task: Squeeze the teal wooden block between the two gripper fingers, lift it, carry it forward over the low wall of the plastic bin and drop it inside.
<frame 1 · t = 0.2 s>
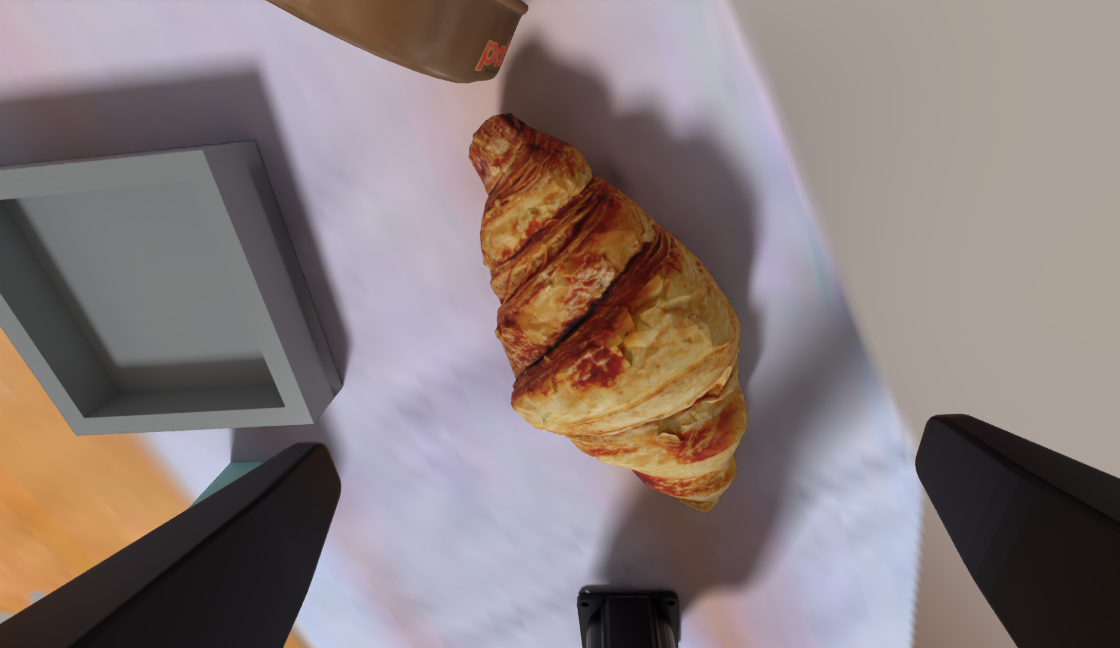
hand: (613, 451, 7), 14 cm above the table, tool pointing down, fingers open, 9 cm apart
bin: (182, 287, 23), on the table
block: (281, 489, 29), on the table
croissant: (614, 327, 23), on the table
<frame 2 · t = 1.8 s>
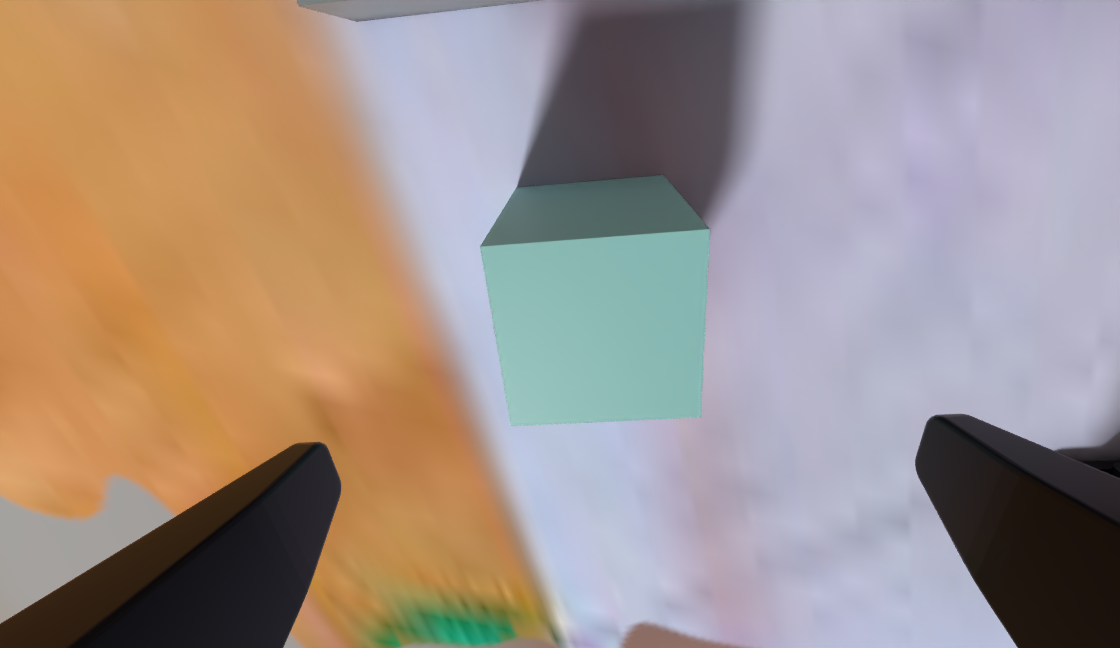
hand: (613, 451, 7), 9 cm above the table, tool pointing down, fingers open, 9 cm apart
block: (593, 251, 16), on the table
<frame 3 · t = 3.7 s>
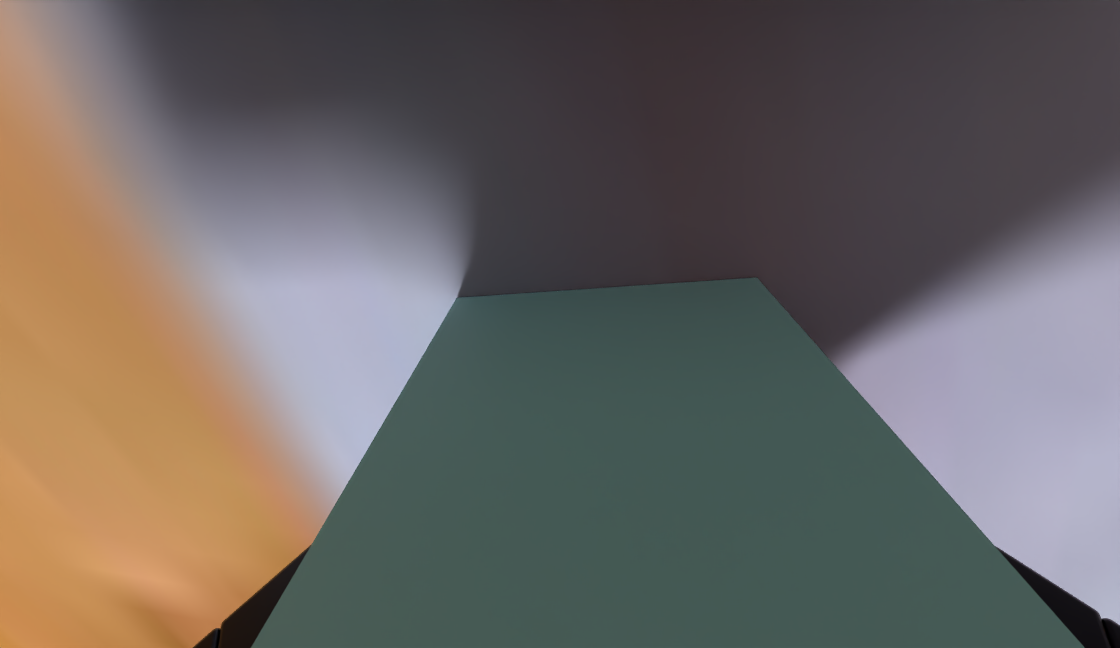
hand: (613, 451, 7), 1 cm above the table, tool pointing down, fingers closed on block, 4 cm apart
block: (609, 409, 8), on the table, touching gripper
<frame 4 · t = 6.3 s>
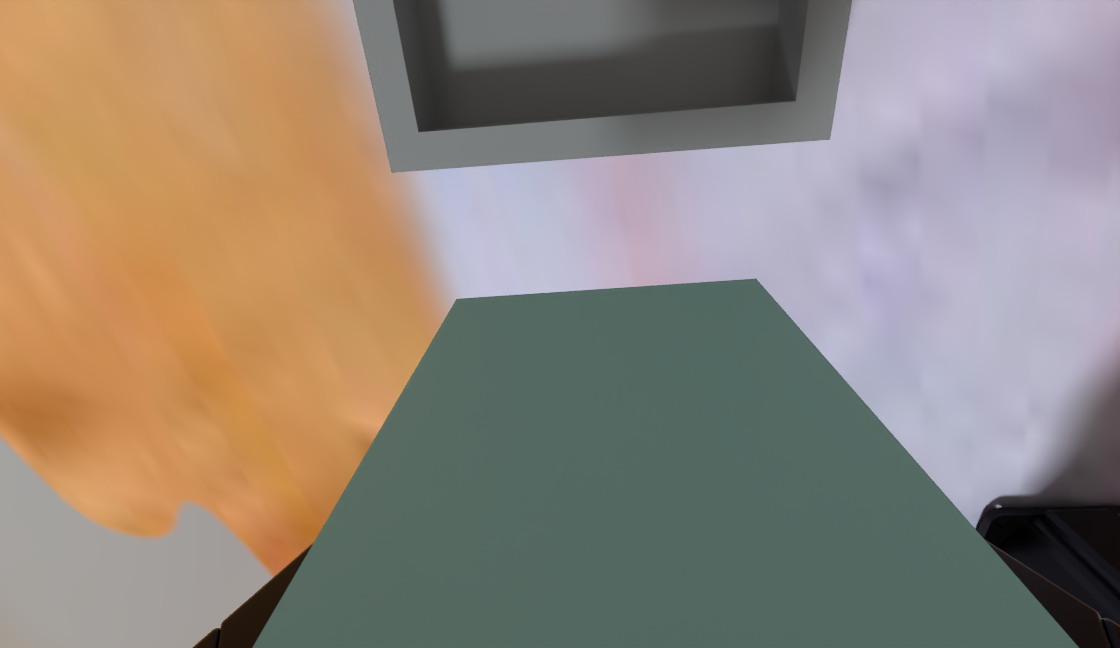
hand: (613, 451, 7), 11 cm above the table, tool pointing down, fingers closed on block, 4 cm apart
block: (609, 410, 8), point 10 cm above the table, touching gripper
when the fingers open (4 cm above the table, at t = 9.2 s): block drops 2 cm, resting on bin.
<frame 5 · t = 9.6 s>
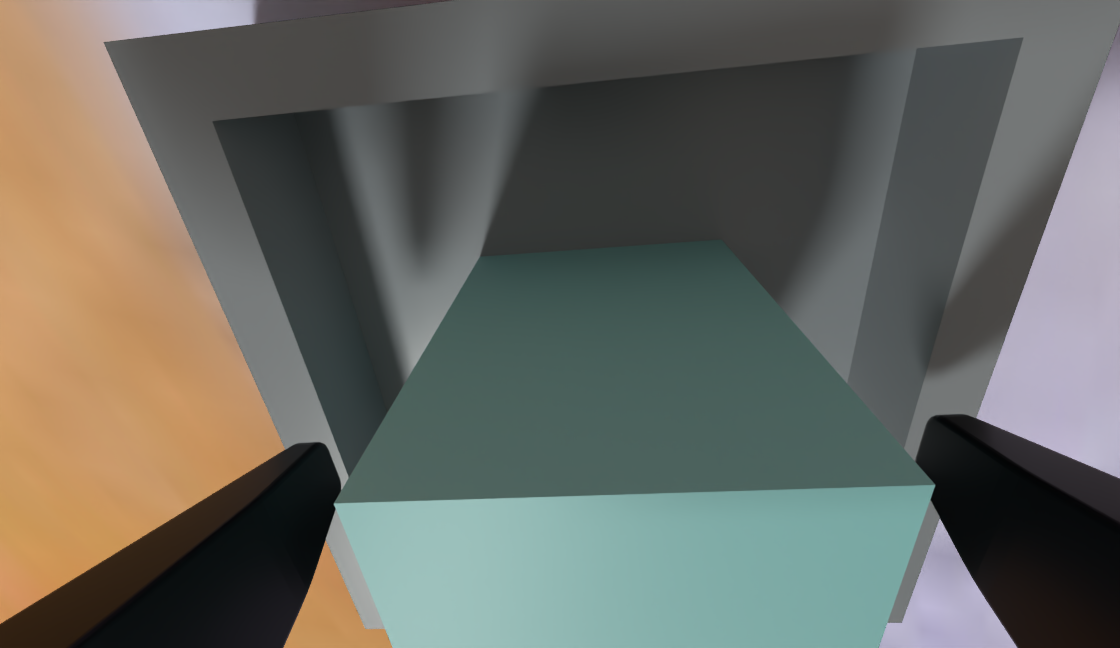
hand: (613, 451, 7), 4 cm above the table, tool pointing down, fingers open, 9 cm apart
bin: (602, 328, 11), on the table
block: (604, 352, 10), point 1 cm above the table, touching bin
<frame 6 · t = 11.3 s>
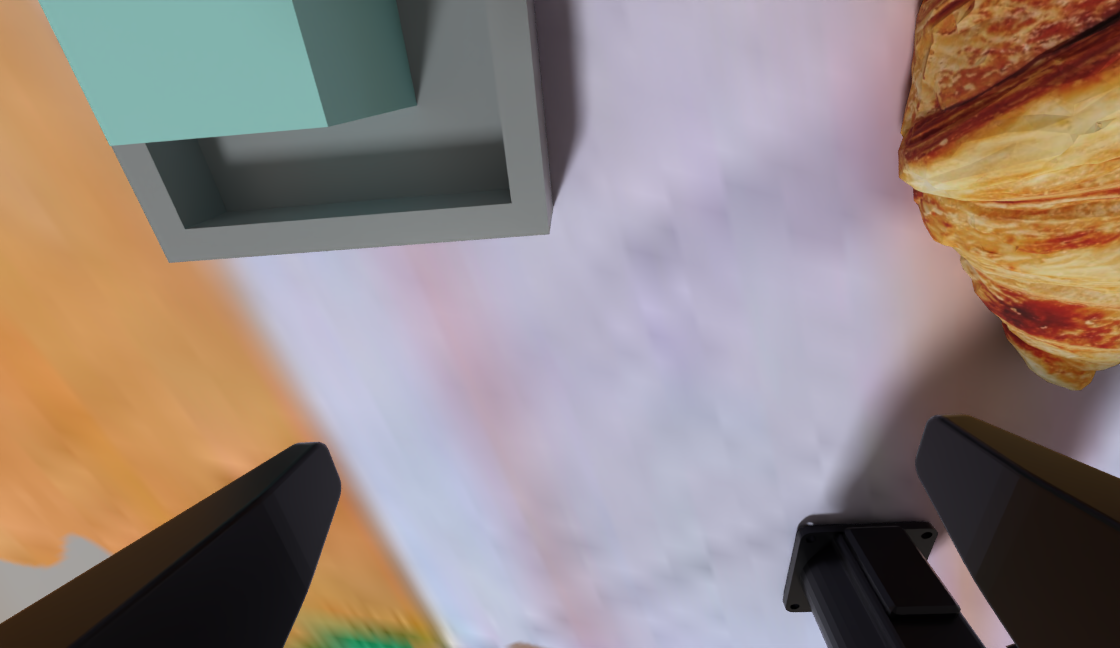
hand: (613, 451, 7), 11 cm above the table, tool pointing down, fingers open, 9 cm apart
bin: (337, 26, 15), on the table
block: (322, 25, 14), point 1 cm above the table, touching bin
croissant: (1023, 91, 15), on the table
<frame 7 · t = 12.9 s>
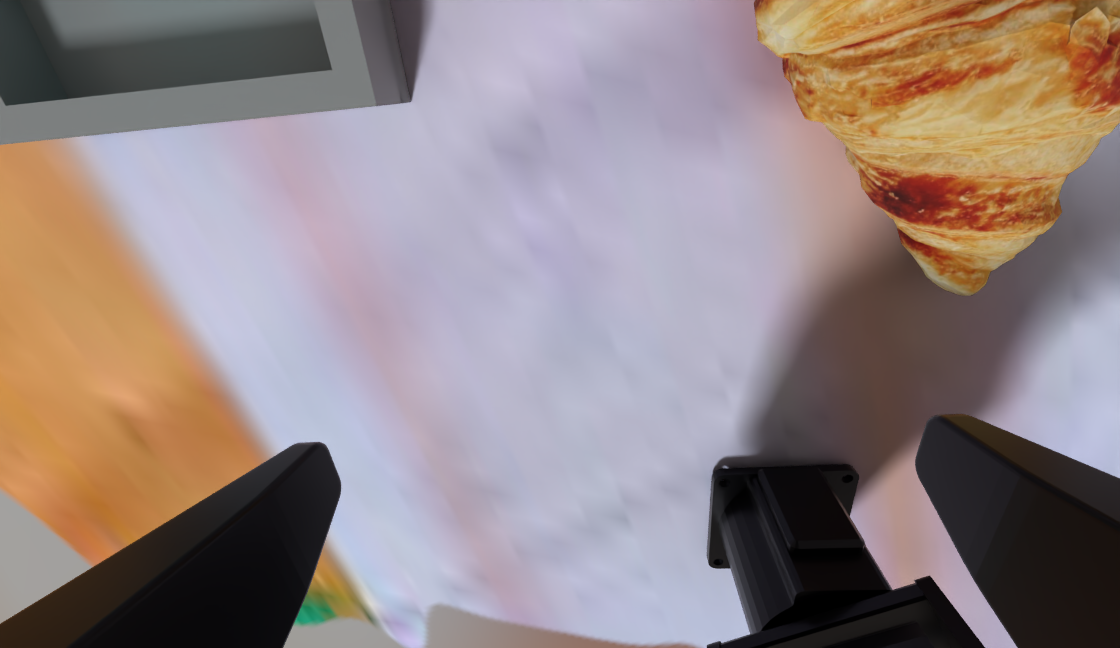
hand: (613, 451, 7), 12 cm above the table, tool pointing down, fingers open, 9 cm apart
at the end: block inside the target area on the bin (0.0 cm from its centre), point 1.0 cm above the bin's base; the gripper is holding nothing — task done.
